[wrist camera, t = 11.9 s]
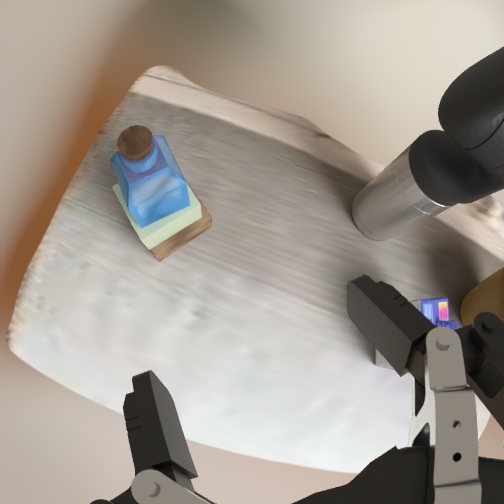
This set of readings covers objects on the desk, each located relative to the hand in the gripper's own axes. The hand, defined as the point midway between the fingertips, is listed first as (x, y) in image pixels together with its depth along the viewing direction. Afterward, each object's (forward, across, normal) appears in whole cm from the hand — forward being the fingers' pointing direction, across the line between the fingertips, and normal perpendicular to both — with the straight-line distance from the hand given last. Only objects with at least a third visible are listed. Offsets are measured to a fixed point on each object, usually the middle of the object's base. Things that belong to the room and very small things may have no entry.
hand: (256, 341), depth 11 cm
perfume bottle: (+28, +2, +4) cm, 29 cm away
